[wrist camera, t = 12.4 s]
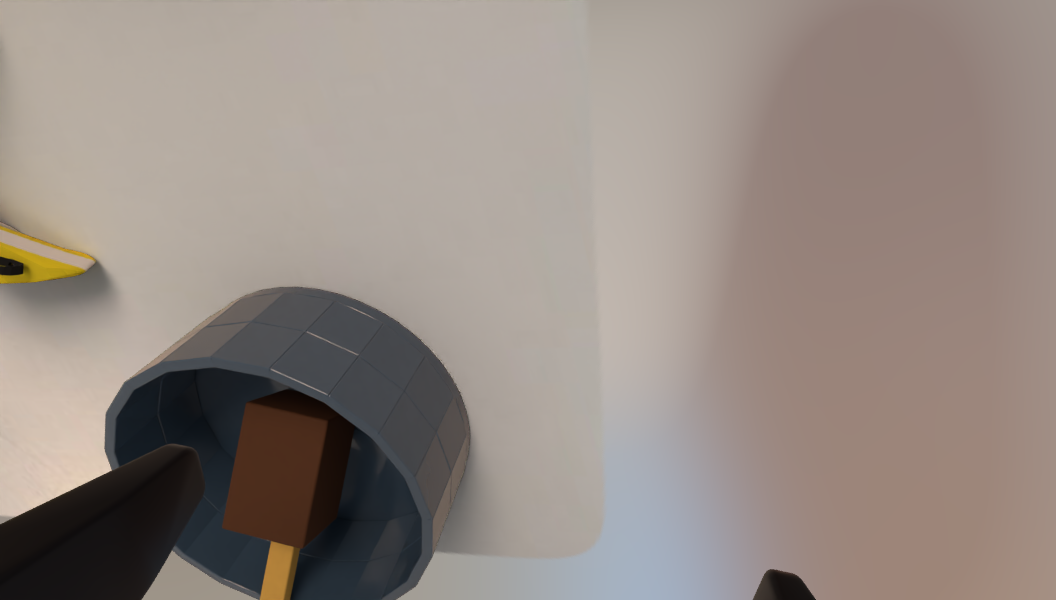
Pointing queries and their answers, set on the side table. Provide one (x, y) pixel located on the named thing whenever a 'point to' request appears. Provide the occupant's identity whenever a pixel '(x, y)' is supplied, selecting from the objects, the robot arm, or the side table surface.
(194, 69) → the side table surface
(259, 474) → the chocolate ice cream bar
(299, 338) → the bowl
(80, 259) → the game controller
